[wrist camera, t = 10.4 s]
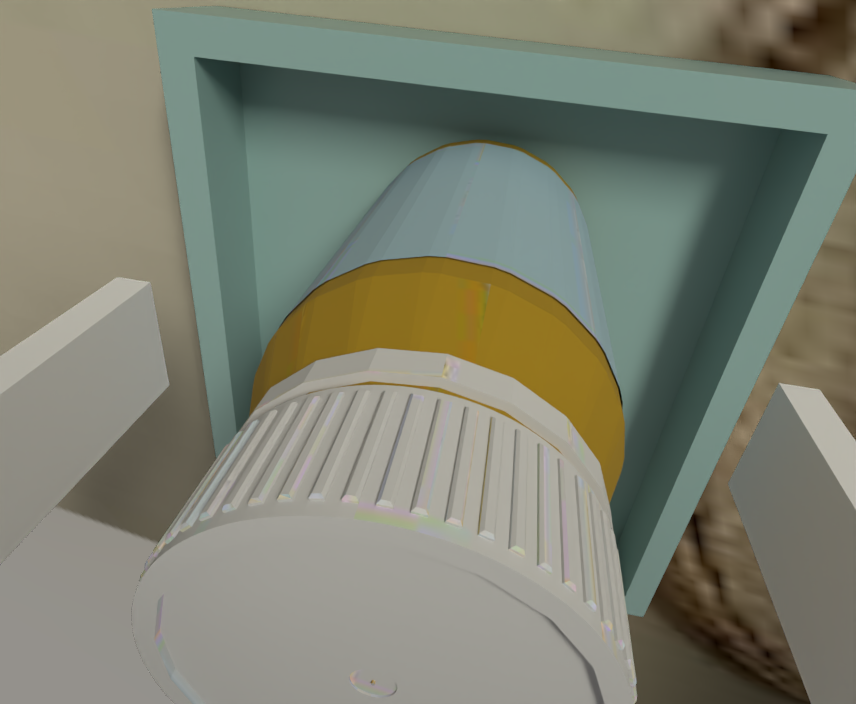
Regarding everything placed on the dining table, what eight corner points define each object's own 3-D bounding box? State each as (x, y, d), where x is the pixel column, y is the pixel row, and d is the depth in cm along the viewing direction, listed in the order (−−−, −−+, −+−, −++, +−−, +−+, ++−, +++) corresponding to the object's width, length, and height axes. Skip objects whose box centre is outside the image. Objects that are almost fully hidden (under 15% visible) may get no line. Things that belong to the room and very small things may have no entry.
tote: (215, 5, 18) (151, 8, 15) (829, 75, 16) (893, 94, 13) (259, 478, 29) (227, 534, 26) (632, 548, 27) (643, 616, 24)
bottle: (337, 235, 20) (6, 633, 8) (486, 82, 17) (337, 342, 4) (472, 366, 22) (385, 856, 10) (631, 252, 19) (812, 768, 6)
